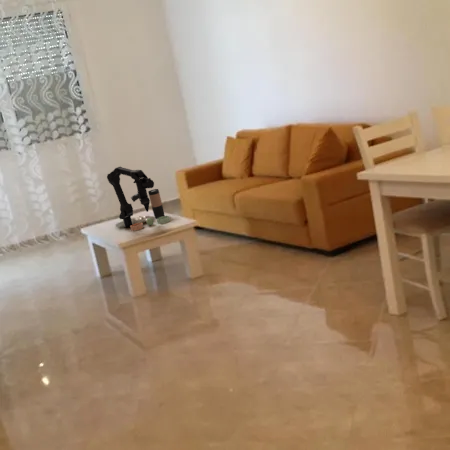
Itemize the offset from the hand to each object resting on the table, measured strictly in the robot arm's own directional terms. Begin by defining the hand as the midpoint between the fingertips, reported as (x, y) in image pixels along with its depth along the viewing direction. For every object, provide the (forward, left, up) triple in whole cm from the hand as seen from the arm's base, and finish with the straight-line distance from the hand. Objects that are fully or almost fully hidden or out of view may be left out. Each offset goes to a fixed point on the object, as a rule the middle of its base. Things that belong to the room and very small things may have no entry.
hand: (146, 210), depth 480 cm
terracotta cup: (-4, -9, -11) cm, 14 cm away
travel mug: (-14, +15, -11) cm, 23 cm away
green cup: (+4, +9, -11) cm, 14 cm away
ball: (0, 0, -8) cm, 8 cm away
